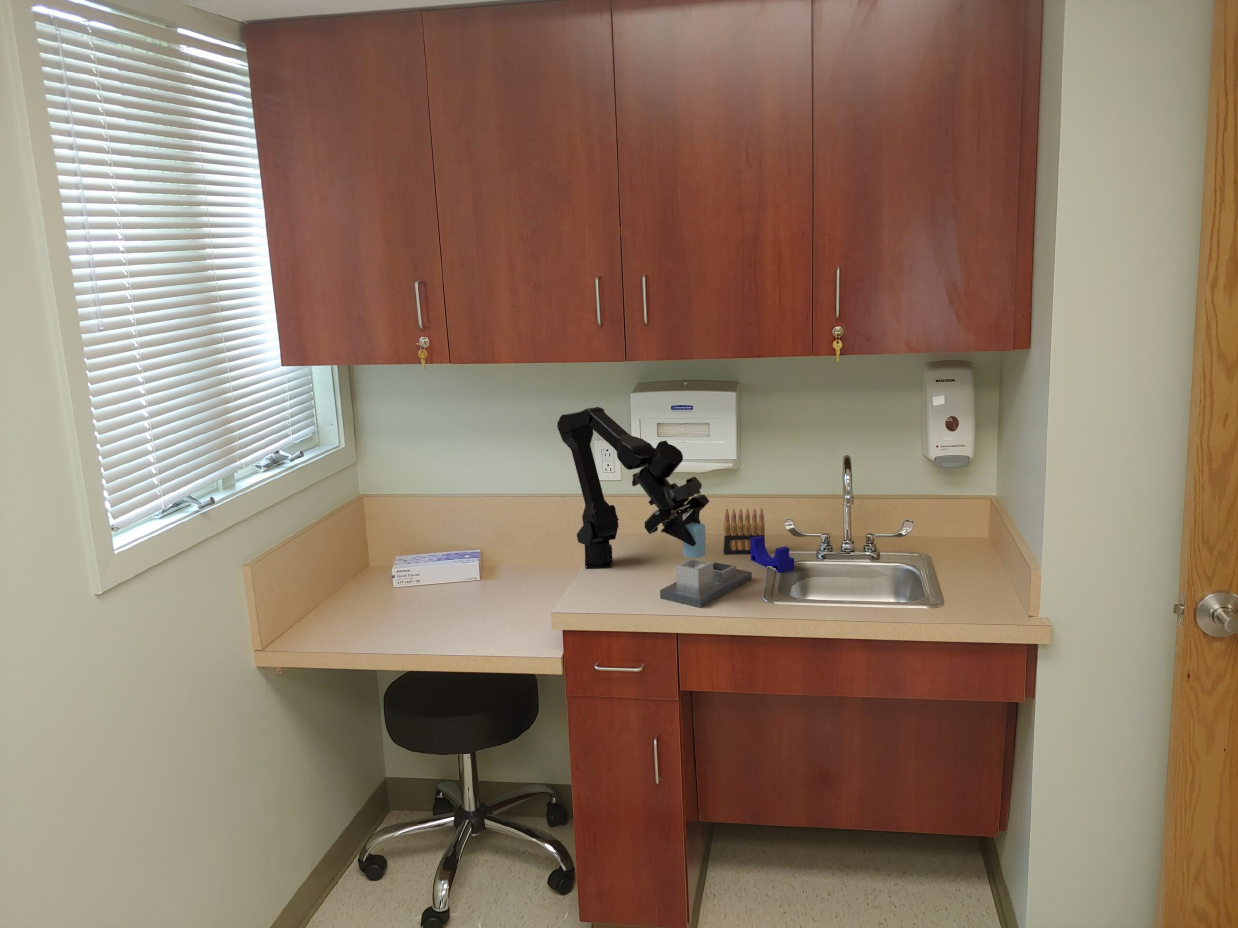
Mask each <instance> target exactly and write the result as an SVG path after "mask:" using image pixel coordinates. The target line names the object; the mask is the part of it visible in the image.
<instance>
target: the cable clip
mask: <svg viewBox="0 0 1238 928" xmlns="http://www.w3.org/2000/svg"><path fill="white" fill-rule="evenodd" d="M750 561H752V562H754V563H756V564H758V565H761V566H762V567H765V568H767V566H772V567H773V568H776V570H777V572H776V573H779V574H780V573H786V572H790V571H794V570H795V558H794V557H792V556H790V547H788V546H785V545H784V546H780V547H776V548H775V552H774V555H773V557H772V556H771V555H770V554H769V551H767V547H766V543H765V544H764V537H761V536H758V537H753V538H751V554H750Z"/></svg>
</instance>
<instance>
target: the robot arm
mask: <svg viewBox="0 0 1238 928" xmlns="http://www.w3.org/2000/svg"><path fill="white" fill-rule="evenodd" d="M556 427H557V429H558V433H559V436H560V438H561V441H562V442H563V443H564V444H565V445H566V447H568V448H569V449H570V451H571V455H572V458H573V462H574V466H575V470H576V474H577V477H578V481H579V486H580V489H581V493H582V497H583V500H584V501H583V502H584V509H583V512H582V517H581V519H582V526H581V527H580V529H579V530H578V531H577V533H576V538H577V539H576V540H577V541H578V543H579V544H581V545H584V568H585V567H586V566H587V567H586V568H585V569H599V568H600V569H601V568H611V567H612V564H613V545H612V544H611V543H610V541H612V540H616V538H617V533H618V529H619V521H620V520H619V517H618V515H617V510H616V509H617V508H616V506H615V505H614V504H611V505H610V504H609V503H608V502H607V501H606V499H605V497H604V493H603V489H602V485H601V481H600V476H599V473H598V469H597V465H596V462H595V459H594V455H593V454H594V453H593V451H592V446H591V443H592V441H593V440H592V439H593V436H594V432H595V433H596V434H598V435H599V436H600V437H601V438H602V439H603V440H604V441H605V442H606V443H607V444H608V445H609V446H611V447H612V448H613V449H614V450H615V451H616V458H617V460H618V461H619V462H620V463H621V464H622V466H623V467H624V468H625V469H626V470H629V471H631V470H637V469H640V470H639V471H638V472H636V473H633V474H632V481H631V486H632V487H635V486H638V485H640V487H641V488H642V490H643V491H644V492H645V494H647V496H648V498H649V501H648V504H649V505H650V506H654V505H655V507H656V508H657V510H655V511H653V512H652V514H651V515H650V516H649V517H648V518H647V519H646V520H645V521H644V529H645V531H646V532H647V534H648V535H652V534H653V533H656V532H658V529H659V525H661V524H662V529H661V530H660V532H661V533H662V534H663V533H665V534H667V535H669V536H671V537H673V538H676V539H678V540H679V541H682V543H683V542H685V543H687V544H689V545H691V546H694V545H695V544H696V542H695V540H694V539H693V537H692V535H691V534H690V532H689V531H688V529H687V528H686V526H685V525H687V524H689V523H698V524H702V523H701V519H700V513H701V511H702V510H703V509H704V508H705V507H706V506H707V505H708V504H709V503H710V500H709V498H708V497H707V496H706V495H705V494H702V493H701V489H702V482H701V481H700V480H699V479H698V478H697V477H696V476H692V477H690V478H687V479H685V483H684V484H681V485H679V486H678V484H677V483H675V482H673V483H671V482H670V481H669V480H668V478H670V477H671V475H673V473H674V472H675V471H676V470H677V468H678V467H679V466H680V465H681V463H682V462H683V460H684V456H683V455H684V454H683V452H682V451H681V449H678V447H676V446H675V445H674V444H669V442H668V440H661V441H659V442H658V443H657V444H656V447H653V444H651V443H650V442H648V441H646V440H644V439H643V438H640V437H637V436H633V435H632V434H630V433H628V432H627V431H626V430H625V429H624V428H623V427H622V426H620V425H619V423H617V422H616V421H615V420H614V419H613V418H612V417H610V416H609V415H608V414H607V413H606V412H605V410H604V408H603V407H599V406H595V407H589V408H585V409H583V410H581V411H578V412H572V413H565V414H562V415H561V416H560V417H559V418H558V421H557V425H556ZM706 540H707V539H706V537H705V541H706Z"/></svg>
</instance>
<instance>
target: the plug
mask: <svg viewBox="0 0 1238 928" xmlns="http://www.w3.org/2000/svg"><path fill="white" fill-rule="evenodd" d="M685 526H686V528H687V529H688V531H689V532H690V534H691V535H692V537H693V539H694V540H695V542H696V544H695V545H694V546H691V545H689V544H687V543H685V542H683V541H682V547H683V554H682V555H683V557H687V558H690V559H691V558H692V559H697V560H698V559H699V558H701V557H704V556H705V555H706V553H707V552H706V550H707V549H706V548H707V547H706V540H705V538H706V524H703V523H701V524H698V523H689V524H687V525H685Z"/></svg>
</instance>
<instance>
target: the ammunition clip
mask: <svg viewBox="0 0 1238 928" xmlns="http://www.w3.org/2000/svg"><path fill="white" fill-rule="evenodd" d="M736 514H737V513H736V510H735V508H733V509H732V511H731V519H730V512H729V510H728V508H726V509H725V513H724V520H723V521H724V522H723V552H722V553H723V555H724V556H725V555H726V556H731V555H732V556H733V555H734V556H735V555H738V556H739V555H751V538H753V537H758V536H761V537H764V544H765V545H766V540H765V539H766V536H765V535H766V534H765V533H766V531H765V528H766V525H765V519H764V518H765V516H764V510H763V508H762V507H761V508H760V510H759V514H758V515H757V510H756V508H755V507H754V508H753V510H752V513H751V516H750V510H749V508H746V510H745V514H744V513H743V510H742V508H740V509H739V510H738V516H737V515H736ZM744 515H745V516H744ZM757 516H758V518H757ZM737 517H738V519H737ZM750 517H751V518H750ZM730 520H731V521H730Z"/></svg>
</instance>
